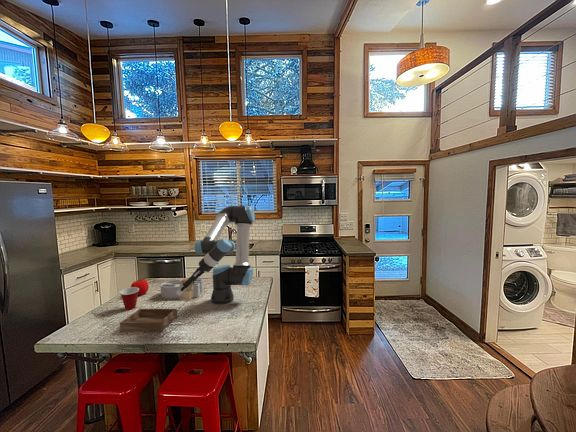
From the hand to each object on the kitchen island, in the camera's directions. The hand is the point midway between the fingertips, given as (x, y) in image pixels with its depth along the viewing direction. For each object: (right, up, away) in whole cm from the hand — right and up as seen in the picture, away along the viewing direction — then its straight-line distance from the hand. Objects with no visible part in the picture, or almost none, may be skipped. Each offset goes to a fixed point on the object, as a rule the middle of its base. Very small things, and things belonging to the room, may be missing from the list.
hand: (180, 292), depth 148 cm
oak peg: (+4, -3, 0) cm, 5 cm away
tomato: (-49, -16, +50) cm, 72 cm away
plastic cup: (-41, -17, +25) cm, 51 cm away
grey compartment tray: (-18, -16, +49) cm, 55 cm away
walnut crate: (-18, -18, +2) cm, 26 cm away
